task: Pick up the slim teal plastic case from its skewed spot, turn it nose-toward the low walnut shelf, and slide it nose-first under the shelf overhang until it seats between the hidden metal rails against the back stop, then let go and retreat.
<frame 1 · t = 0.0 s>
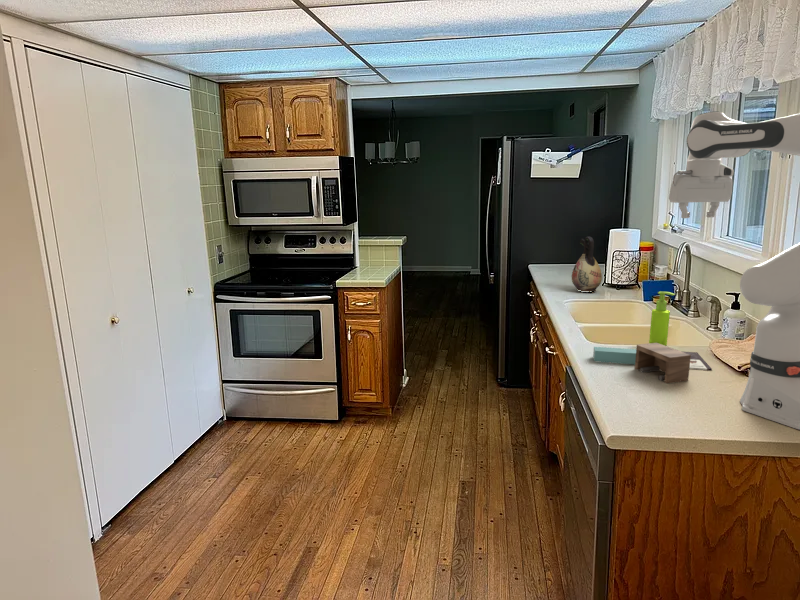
hand: (697, 217, 171), 48 cm above the countertop, fingers open, 8 cm apart
chocolate bar: (689, 362, 191), on the countertop
case: (615, 361, 191), on the countertop
soap dispenser: (659, 346, 207), on the countertop
shelf: (660, 374, 177), on the countertop
ceramic jug: (586, 292, 306), on the countertop
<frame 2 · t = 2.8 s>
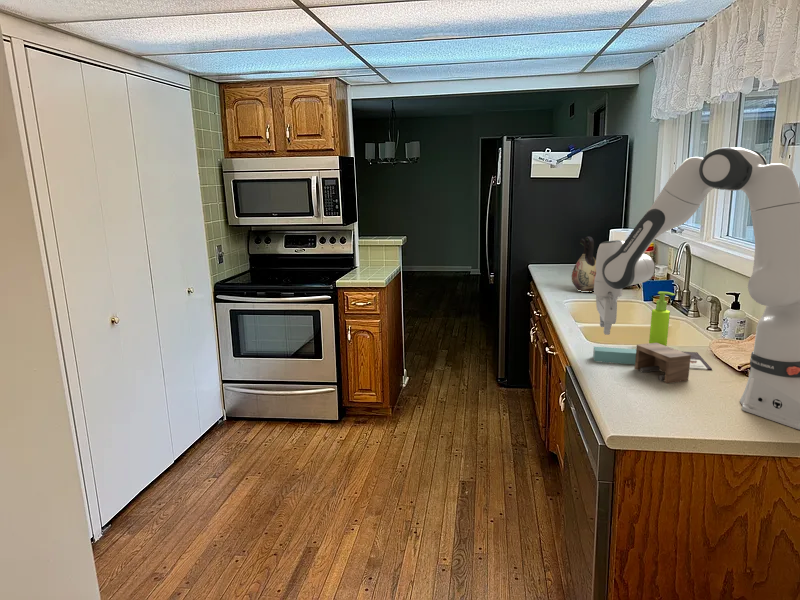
hand: (604, 330, 190), 10 cm above the countertop, fingers open, 8 cm apart
nothing on the countertop moved.
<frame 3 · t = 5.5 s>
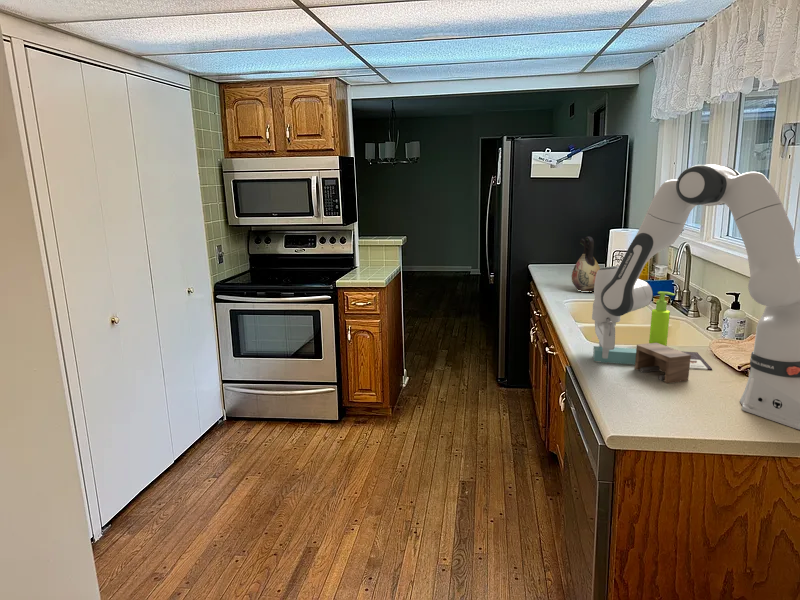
hand: (603, 354, 191), 2 cm above the countertop, fingers closed on case, 5 cm apart
case: (615, 361, 191), on the countertop, touching gripper
everything else where it was.
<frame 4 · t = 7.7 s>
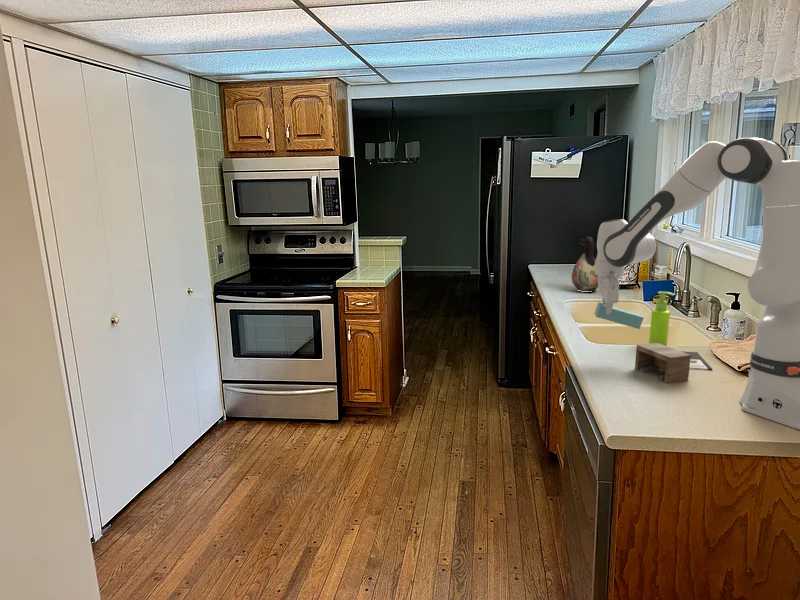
hand: (606, 311, 188), 17 cm above the countertop, fingers closed on case, 5 cm apart
case: (616, 321, 188), point 14 cm above the countertop, tilted 14°, touching gripper
everything else where it was.
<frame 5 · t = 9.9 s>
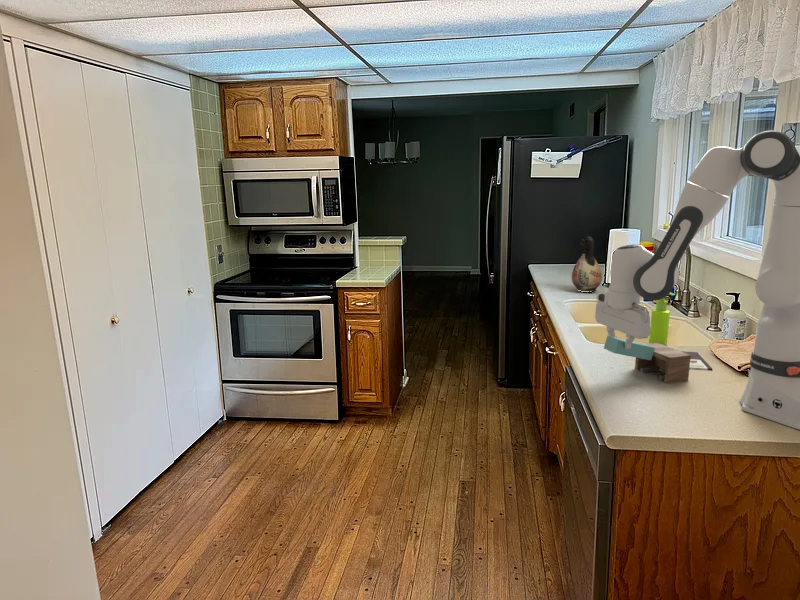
hand: (619, 344, 170), 11 cm above the countertop, fingers closed on case, 5 cm apart
case: (627, 354, 172), point 8 cm above the countertop, tilted 15°, touching gripper
everything else where it was.
when the fingers open (3 cm above the countertop, at t = 14.0 s): case stays where it is, on the countertop.
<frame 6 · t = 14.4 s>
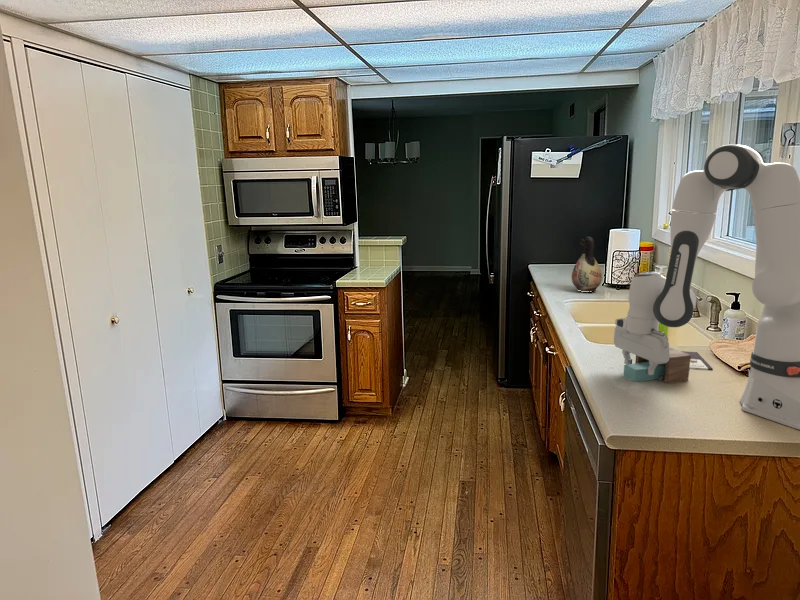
hand: (638, 369, 174), 3 cm above the countertop, fingers open, 8 cm apart
case: (647, 377, 176), on the countertop
everything else where it was.
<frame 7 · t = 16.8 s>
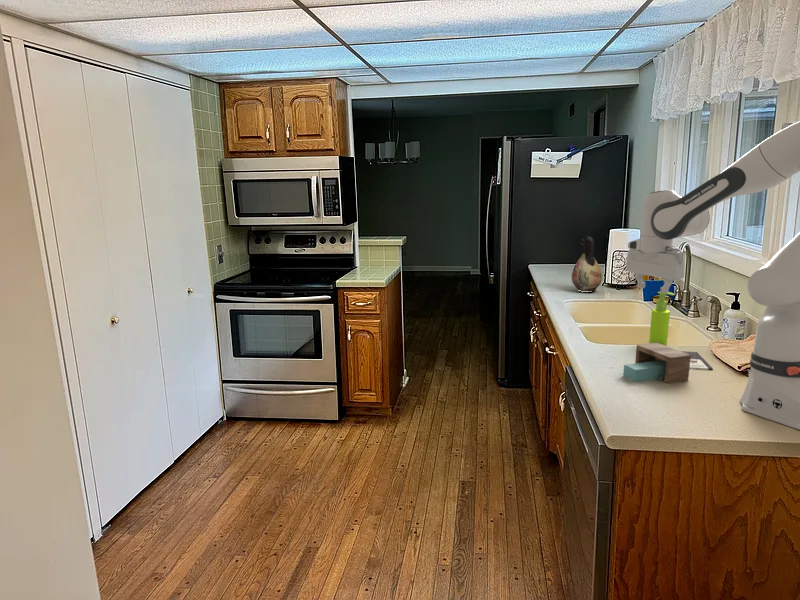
hand: (652, 290, 174), 26 cm above the countertop, fingers open, 8 cm apart
nothing on the countertop moved.
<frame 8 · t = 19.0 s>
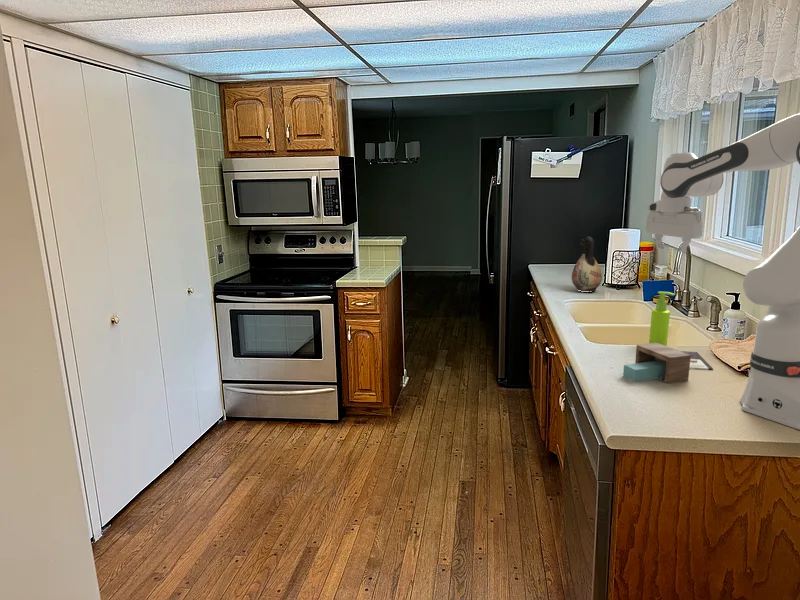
hand: (670, 250, 181), 37 cm above the countertop, fingers open, 8 cm apart
nothing on the countertop moved.
at the end: case 0.5 cm from the target spot on the shelf, point 0.0 cm above the shelf's base; case tilted 0°; the gripper is holding nothing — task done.
